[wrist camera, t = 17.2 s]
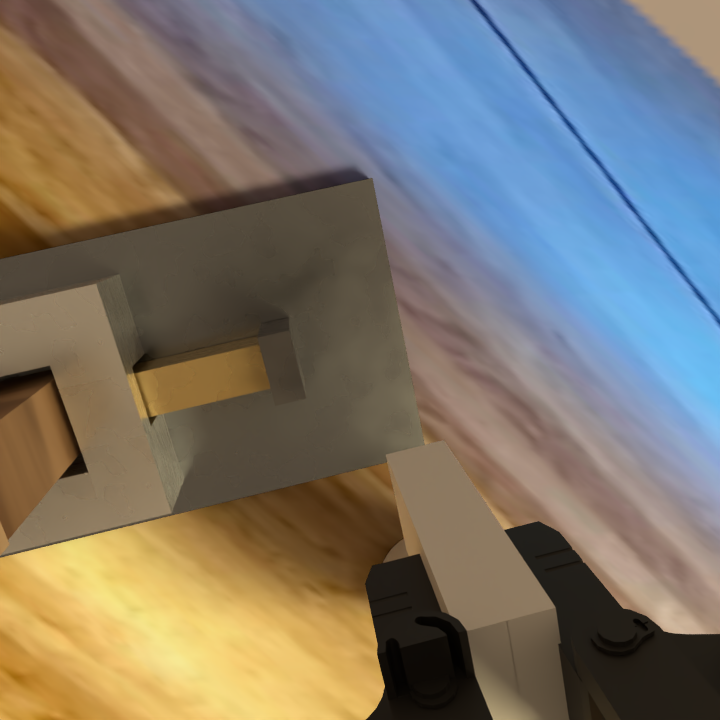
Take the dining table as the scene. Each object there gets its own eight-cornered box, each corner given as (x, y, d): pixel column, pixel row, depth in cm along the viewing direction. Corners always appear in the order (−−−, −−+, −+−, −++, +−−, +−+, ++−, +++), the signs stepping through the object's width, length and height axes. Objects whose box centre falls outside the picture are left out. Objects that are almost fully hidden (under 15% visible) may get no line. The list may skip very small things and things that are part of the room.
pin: (116, 423, 34) (96, 448, 30) (95, 361, 33) (72, 380, 29) (304, 378, 34) (306, 398, 31) (289, 317, 33) (289, 330, 30)
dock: (-41, 560, 36) (-92, 615, 31) (-159, 293, 31) (-240, 310, 27) (422, 446, 37) (442, 482, 33) (369, 178, 33) (384, 174, 28)
